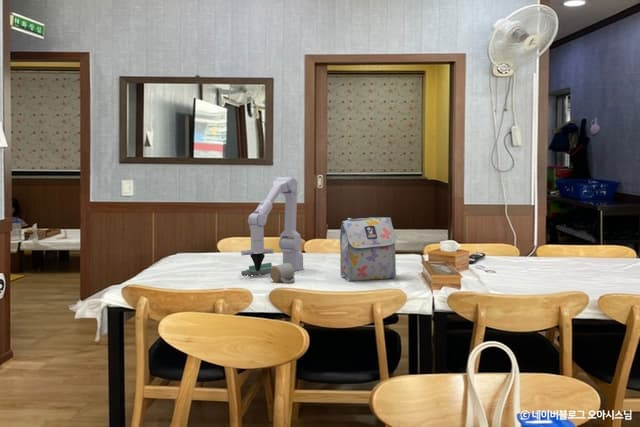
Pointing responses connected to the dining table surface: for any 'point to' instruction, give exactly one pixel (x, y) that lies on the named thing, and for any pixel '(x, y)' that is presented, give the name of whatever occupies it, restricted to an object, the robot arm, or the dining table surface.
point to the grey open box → (255, 272)
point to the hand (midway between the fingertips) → (257, 270)
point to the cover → (263, 267)
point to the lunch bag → (367, 249)
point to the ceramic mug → (282, 273)
